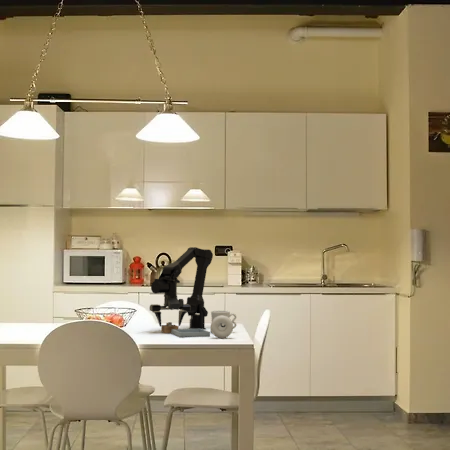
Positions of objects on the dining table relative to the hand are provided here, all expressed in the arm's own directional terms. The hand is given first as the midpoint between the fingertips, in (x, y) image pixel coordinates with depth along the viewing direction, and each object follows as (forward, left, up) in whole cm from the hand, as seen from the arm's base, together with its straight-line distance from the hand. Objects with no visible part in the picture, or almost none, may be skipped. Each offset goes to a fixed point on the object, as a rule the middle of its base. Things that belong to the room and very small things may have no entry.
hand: (169, 326), depth 313 cm
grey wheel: (-16, +27, -3) cm, 32 cm away
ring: (0, 0, -3) cm, 3 cm away
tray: (-6, +13, -3) cm, 15 cm away
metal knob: (0, 0, -3) cm, 3 cm away
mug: (-24, +8, -3) cm, 25 cm away
